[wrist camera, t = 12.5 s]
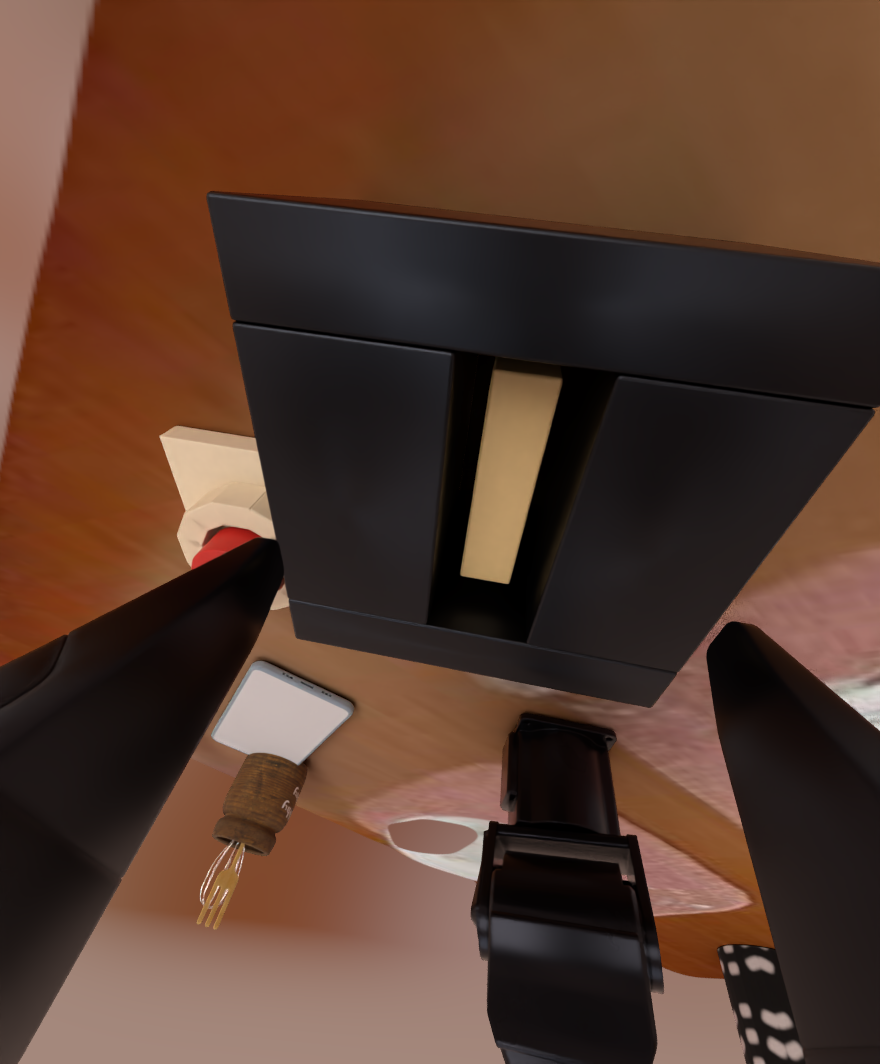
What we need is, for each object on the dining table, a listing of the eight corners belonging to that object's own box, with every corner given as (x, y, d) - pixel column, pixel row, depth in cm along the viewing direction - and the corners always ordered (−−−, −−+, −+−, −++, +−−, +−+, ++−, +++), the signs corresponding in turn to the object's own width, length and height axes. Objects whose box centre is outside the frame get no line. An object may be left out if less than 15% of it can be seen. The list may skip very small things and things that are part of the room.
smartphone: (355, 712, 31) (291, 773, 40) (360, 701, 32) (296, 763, 41) (251, 664, 29) (207, 738, 38) (258, 652, 30) (214, 728, 39)
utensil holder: (247, 754, 42) (164, 913, 33) (256, 737, 38) (165, 913, 29) (302, 776, 43) (235, 935, 34) (317, 762, 39) (246, 939, 30)
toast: (505, 313, 14) (492, 369, 9) (551, 319, 14) (564, 379, 9) (478, 475, 18) (459, 576, 13) (514, 481, 18) (509, 585, 13)
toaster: (356, 199, 13) (202, 189, 7) (751, 243, 12) (982, 277, 6) (365, 509, 21) (294, 639, 14) (612, 551, 20) (651, 709, 13)
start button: (205, 520, 19) (180, 543, 18) (279, 533, 19) (260, 558, 18) (223, 576, 22) (202, 600, 20) (290, 588, 21) (274, 614, 20)
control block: (176, 425, 20) (128, 454, 17) (342, 451, 19) (315, 485, 17) (225, 578, 26) (195, 615, 23) (352, 602, 25) (334, 642, 23)
